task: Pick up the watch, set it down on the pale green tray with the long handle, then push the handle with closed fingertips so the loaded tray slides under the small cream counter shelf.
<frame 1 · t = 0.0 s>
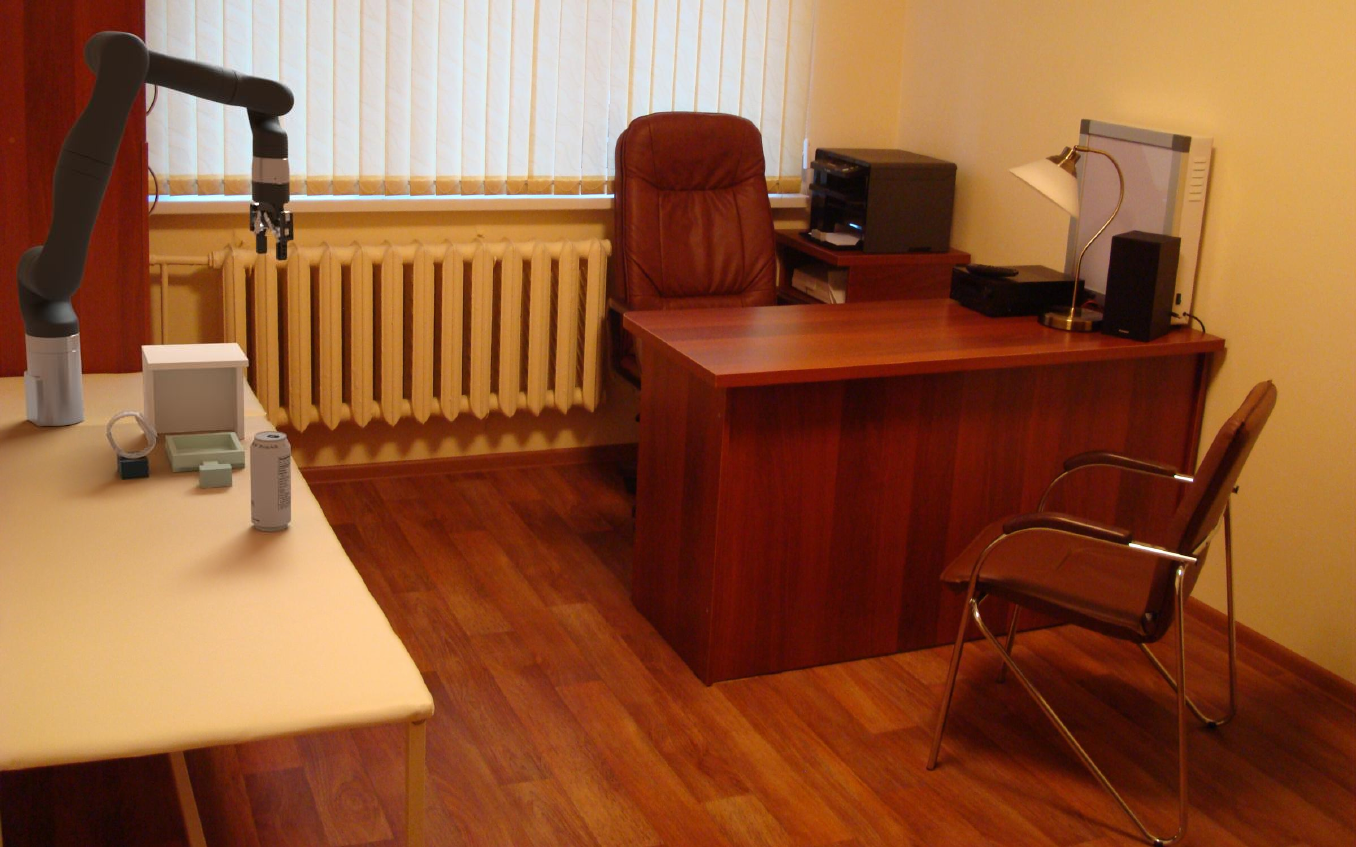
hand: (271, 256, 269), 29 cm above the table, tool pointing down, fingers open, 8 cm apart
counter: (197, 440, 240), on the table
tray: (208, 458, 225), point 2 cm above the table, slide at 12.0 cm
energy drink can: (271, 527, 202), on the table
watch: (133, 474, 220), on the table
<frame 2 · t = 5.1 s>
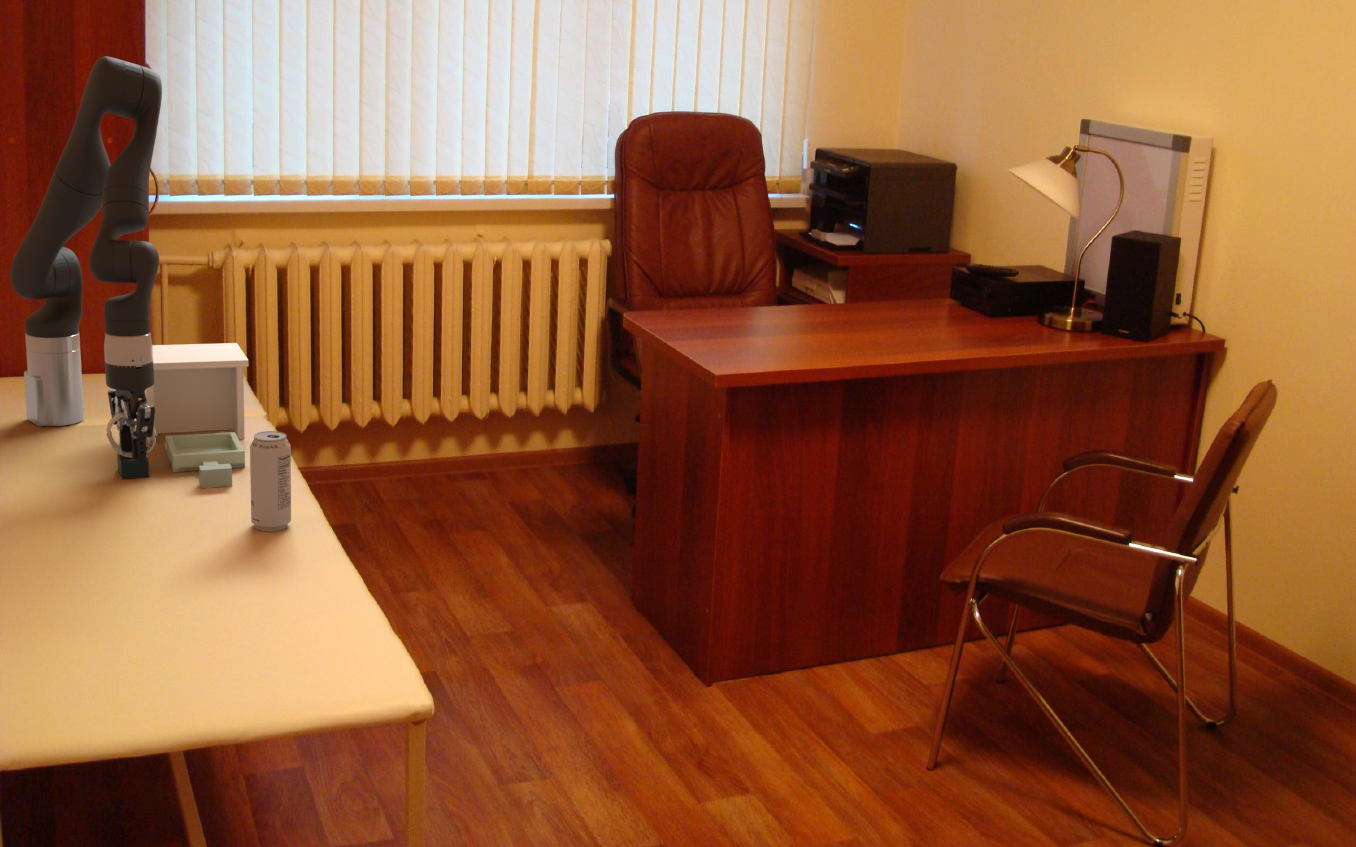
hand: (133, 454, 219), 3 cm above the table, tool pointing down, fingers closed on watch, 4 cm apart
watch: (134, 474, 220), on the table, touching gripper
everything else where it was.
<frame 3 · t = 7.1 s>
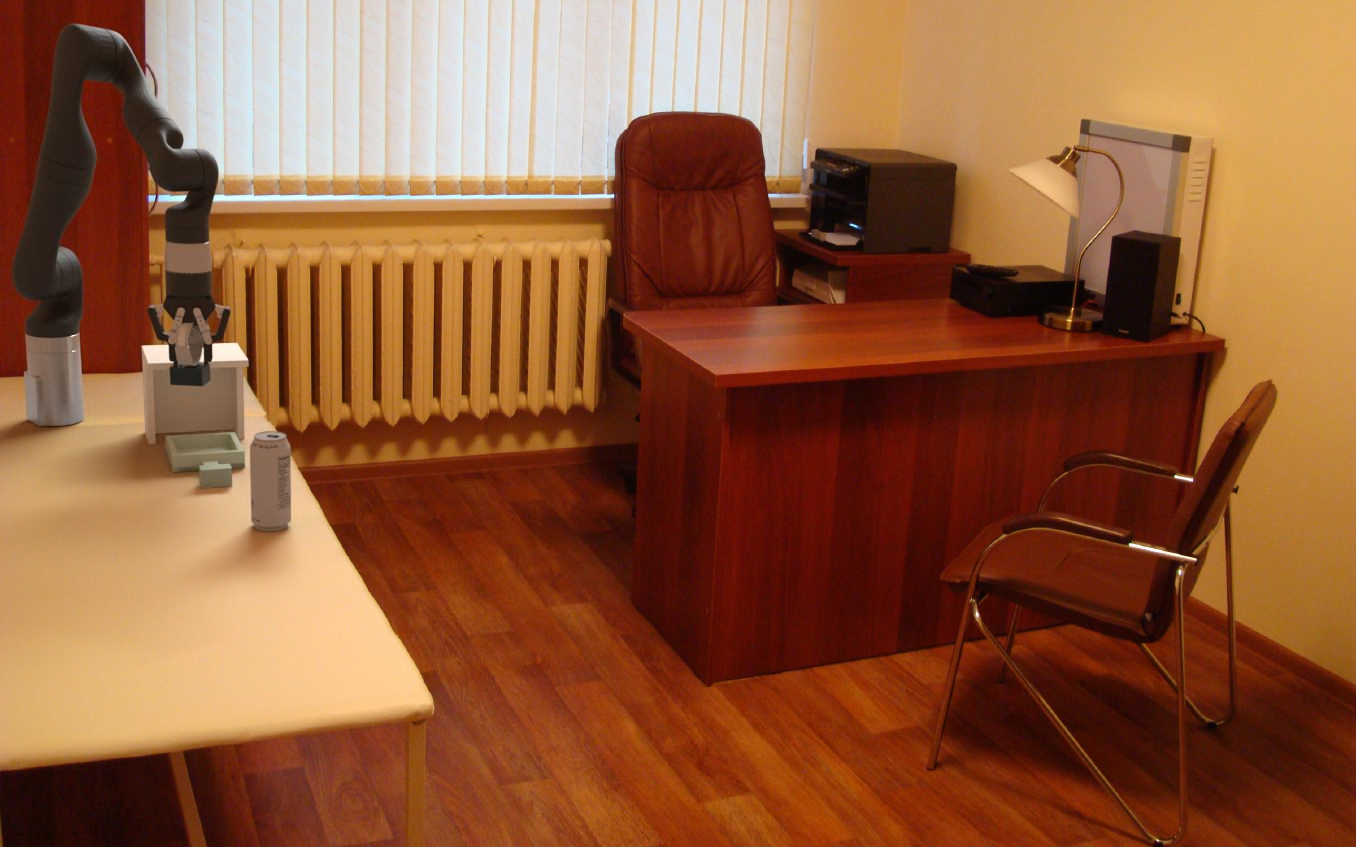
hand: (191, 363, 223), 18 cm above the table, tool pointing down, fingers closed on watch, 4 cm apart
watch: (190, 383, 224), point 15 cm above the table, touching gripper
everything else where it was.
when the fingers open (6 cm above the table, at t = 9.2 s): watch drops 1 cm, resting on tray.
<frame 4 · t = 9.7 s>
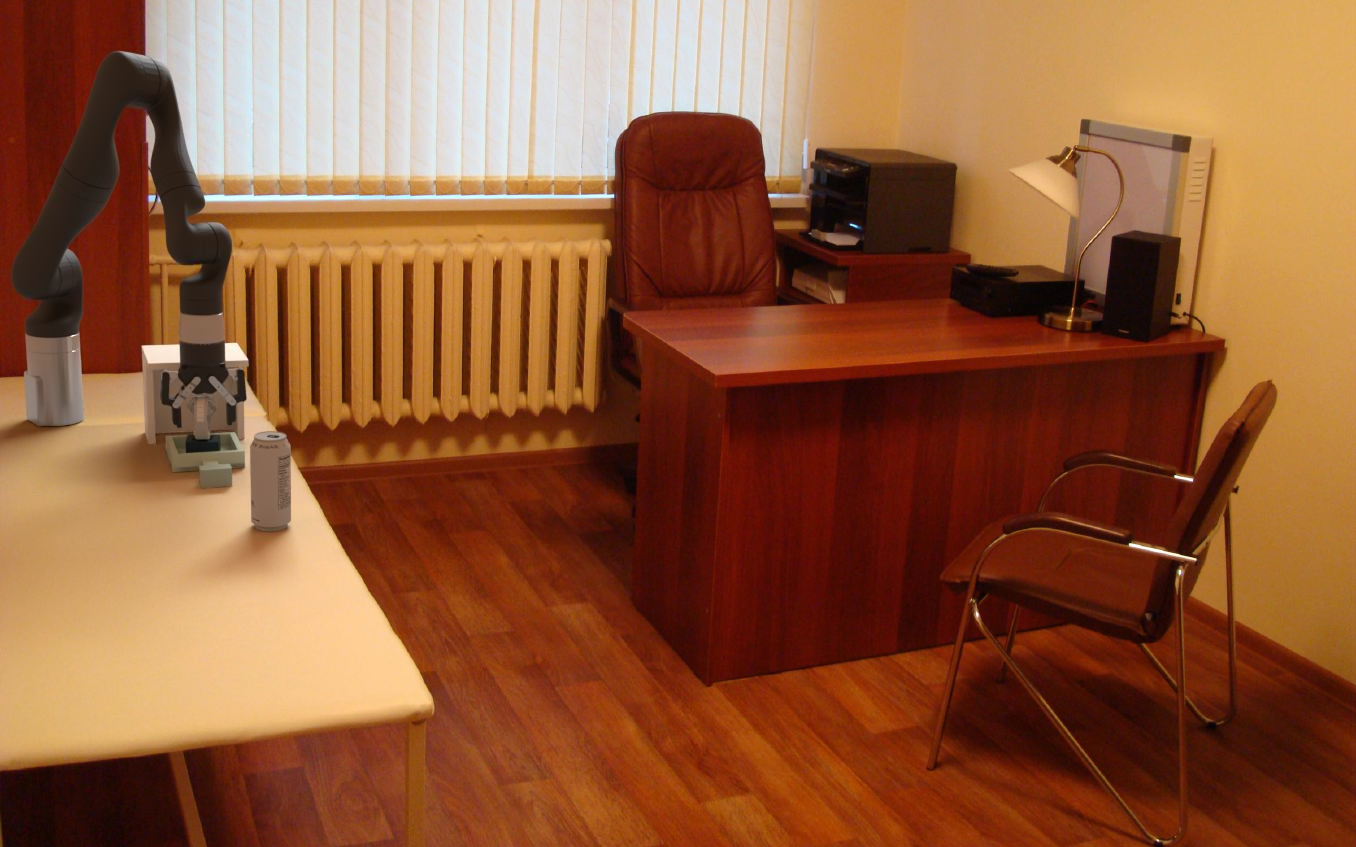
hand: (204, 425, 228), 7 cm above the table, tool pointing down, fingers open, 8 cm apart
tray: (208, 458, 225), point 2 cm above the table, slide at 12.0 cm, touching watch
watch: (203, 455, 230), point 1 cm above the table, touching tray
everything else where it was.
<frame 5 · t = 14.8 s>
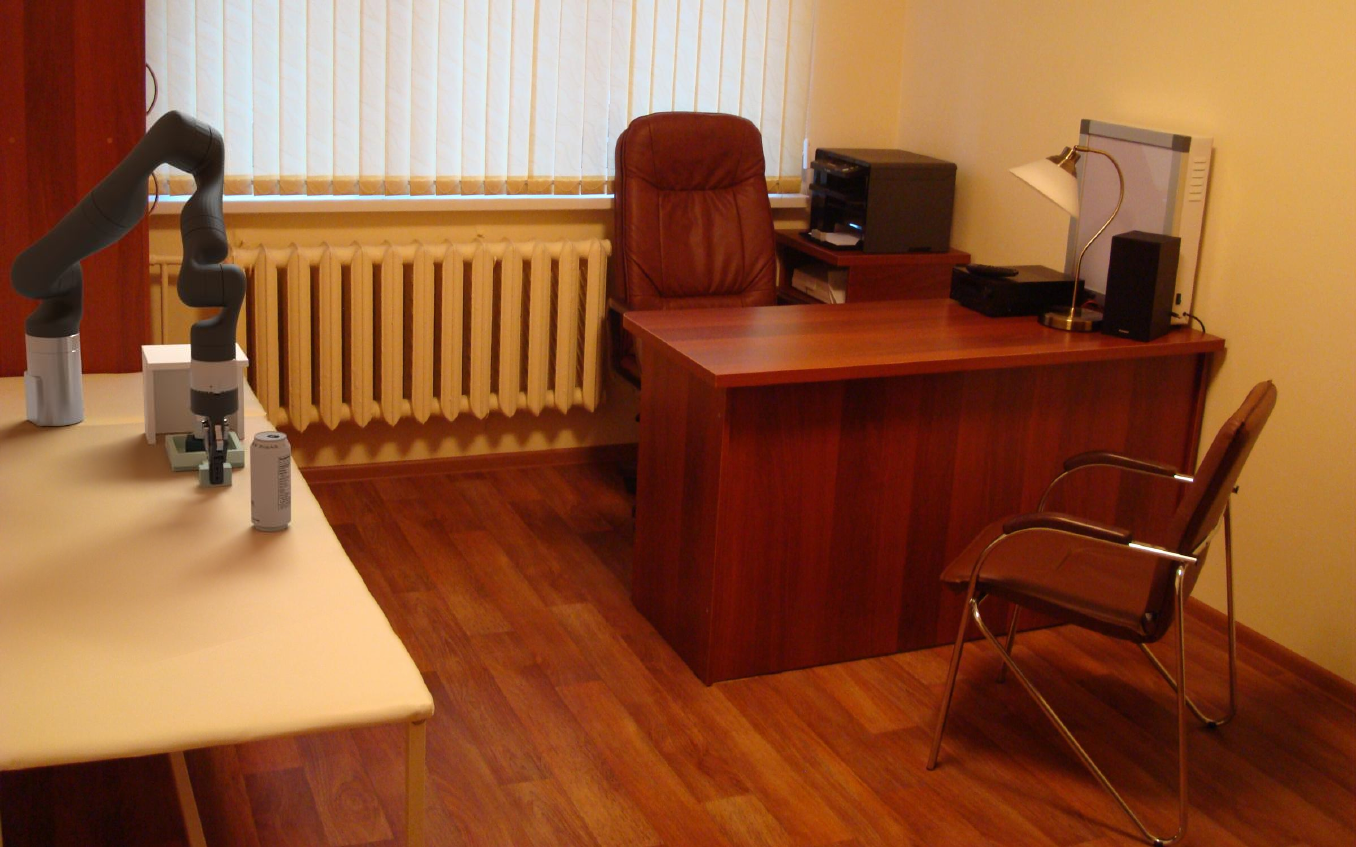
hand: (216, 483, 215), 1 cm above the table, tool pointing down, fingers closed
tray: (208, 458, 226), point 2 cm above the table, slide at 11.6 cm, touching gripper, watch
everything else where it was.
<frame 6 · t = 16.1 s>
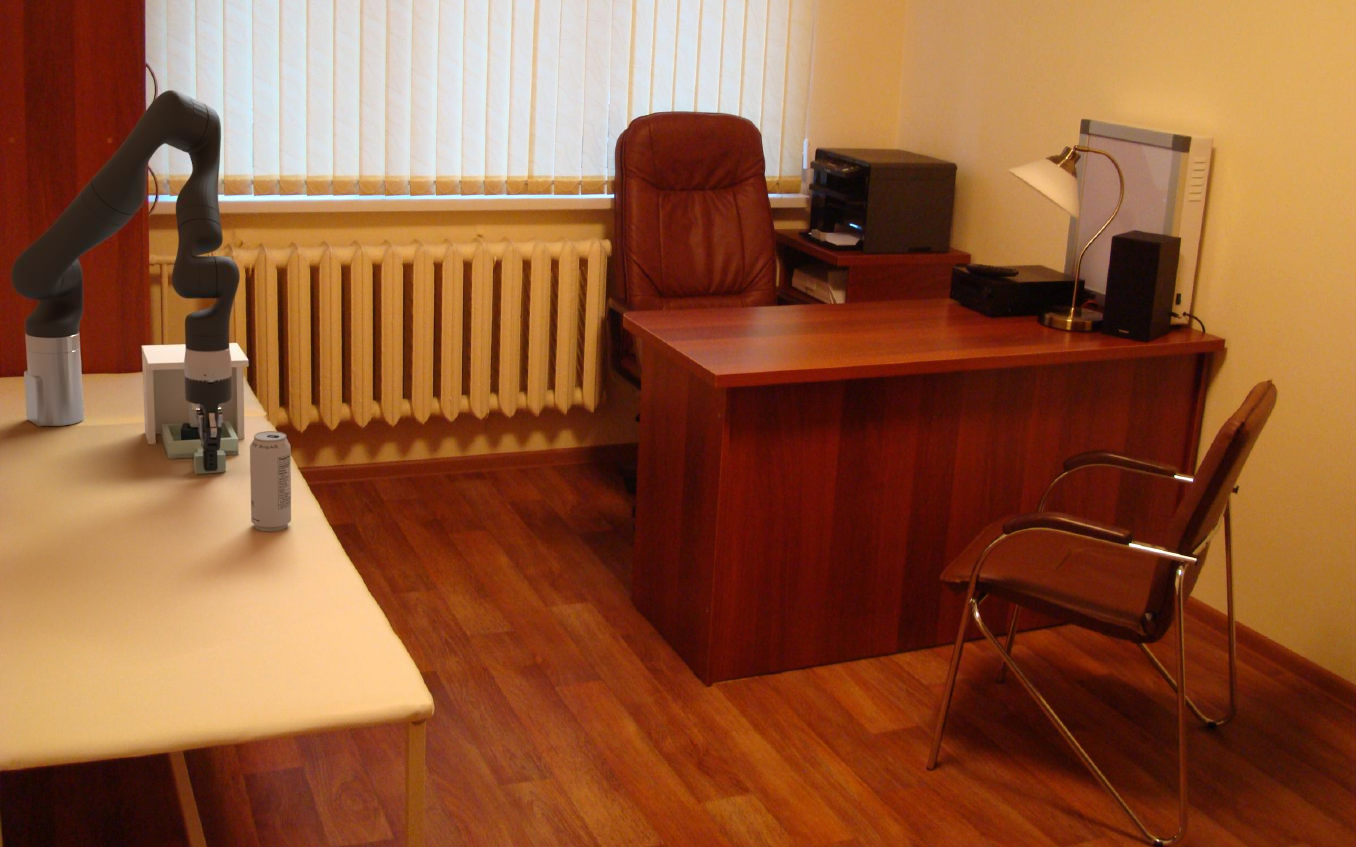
hand: (210, 469, 221), 1 cm above the table, tool pointing down, fingers closed
tray: (202, 446, 232), point 2 cm above the table, slide at 4.3 cm, touching gripper, watch
watch: (198, 443, 236), point 1 cm above the table, touching tray
everything else where it was.
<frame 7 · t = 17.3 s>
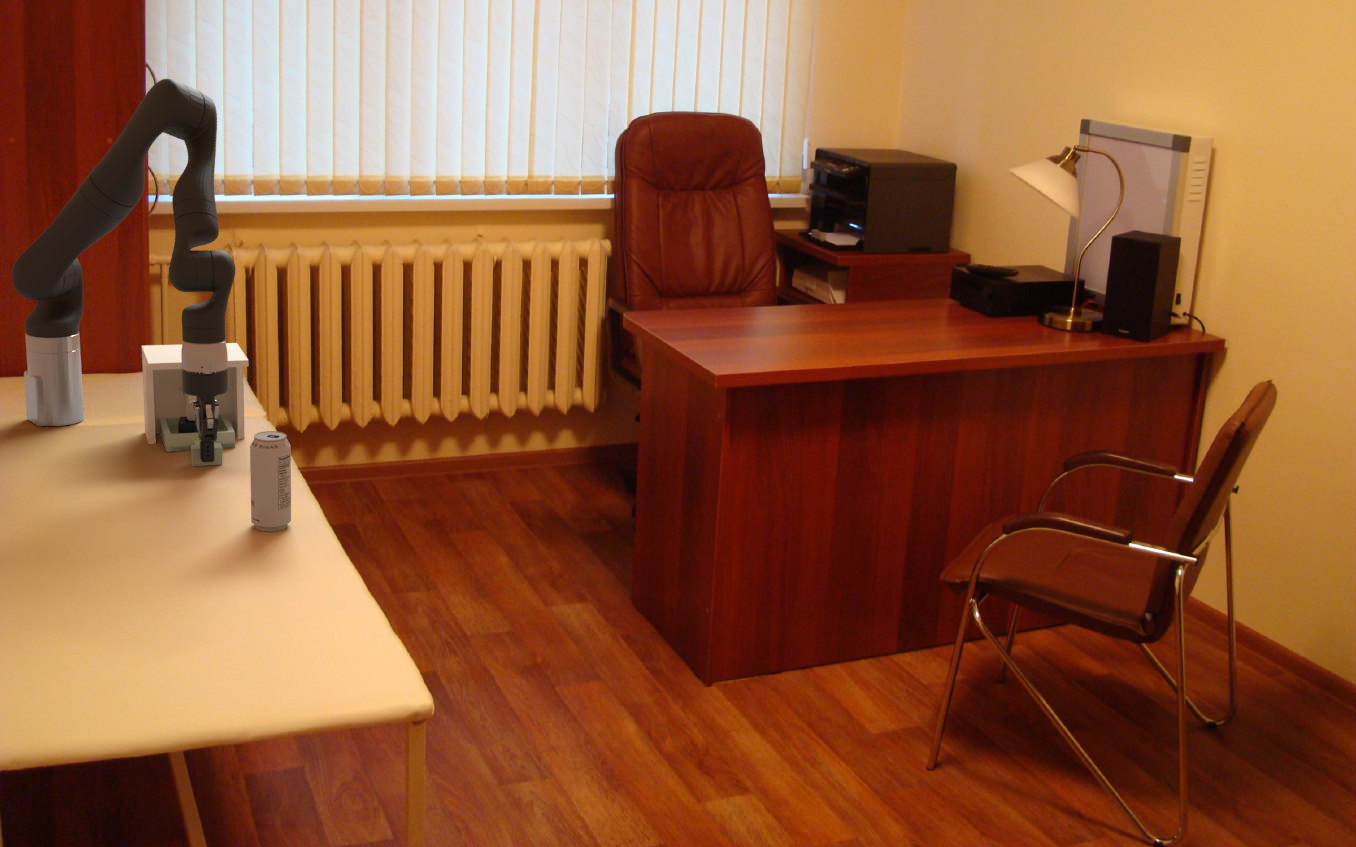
hand: (207, 460, 225), 2 cm above the table, tool pointing down, fingers closed
tray: (199, 439, 235), point 2 cm above the table, slide at 0.0 cm, touching counter, gripper, watch
watch: (195, 436, 240), point 1 cm above the table, touching tray
everything else where it was.
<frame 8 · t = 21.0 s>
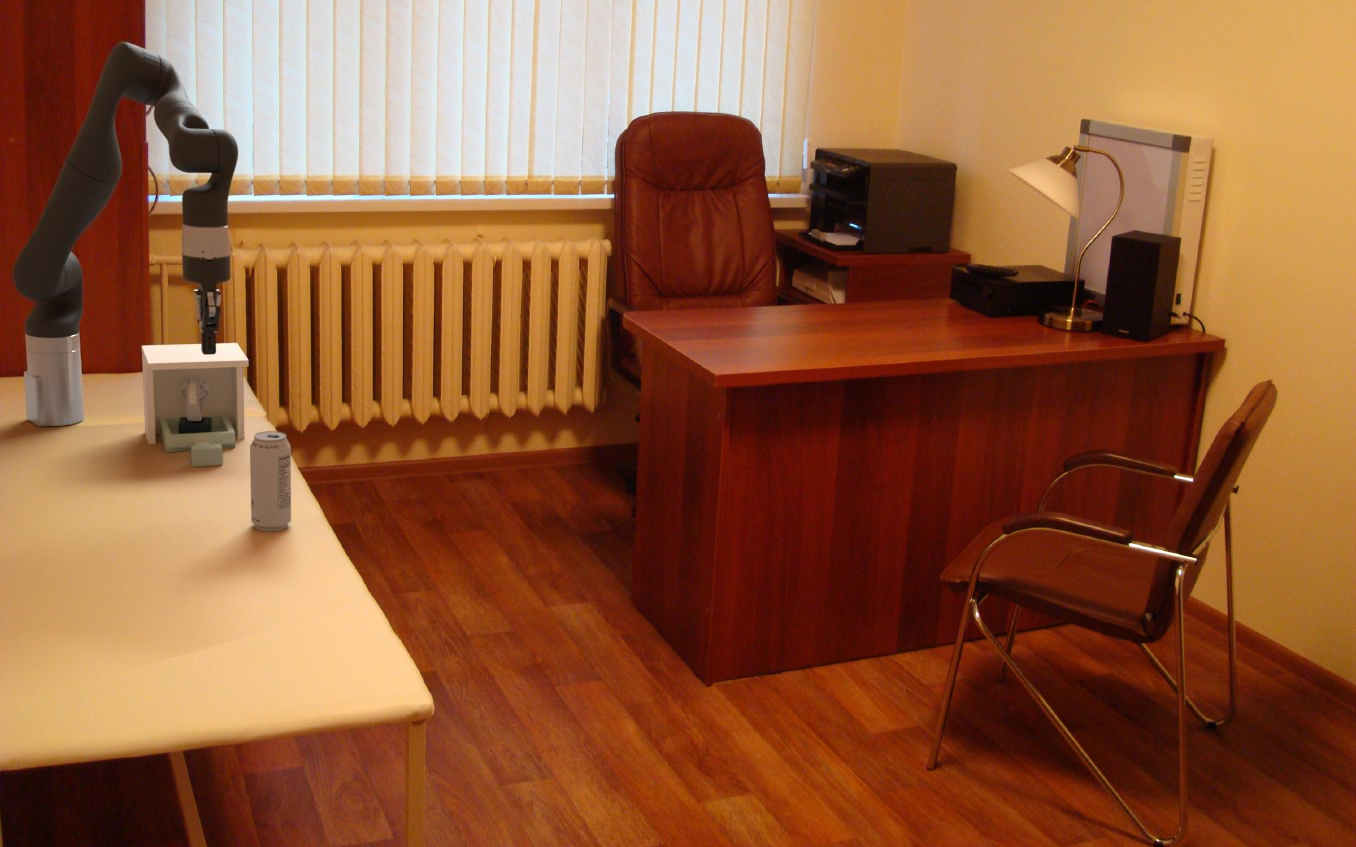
hand: (208, 353, 216), 22 cm above the table, tool pointing down, fingers closed
tray: (200, 439, 235), point 2 cm above the table, slide at 0.3 cm, touching watch
everything else where it was.
at the end: tray slide at 0.3 cm; watch tilted 0° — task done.
